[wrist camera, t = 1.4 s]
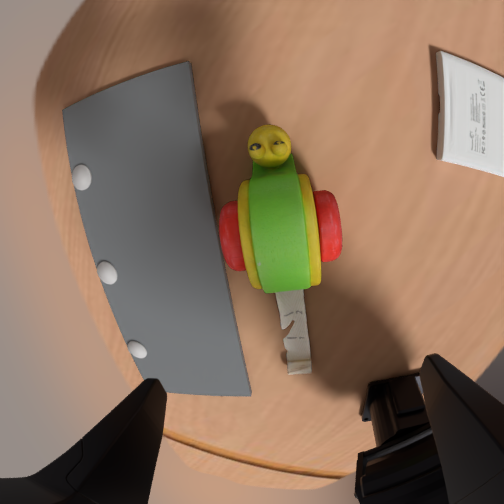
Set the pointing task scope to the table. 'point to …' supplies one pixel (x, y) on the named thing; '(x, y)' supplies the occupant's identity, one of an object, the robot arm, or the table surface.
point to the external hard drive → (470, 115)
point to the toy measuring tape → (281, 235)
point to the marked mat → (157, 230)
